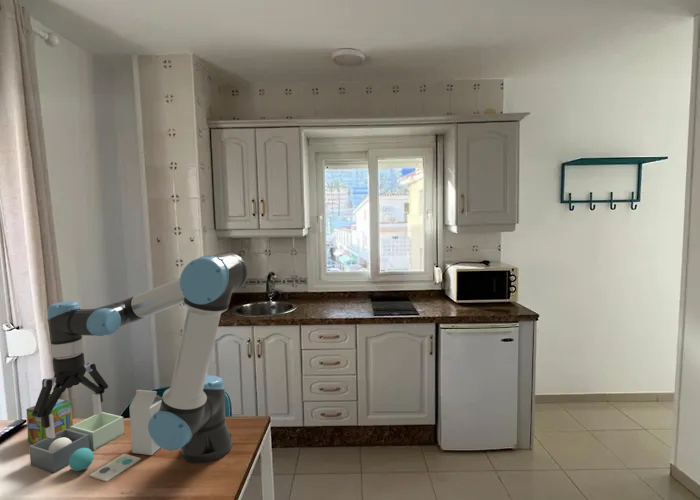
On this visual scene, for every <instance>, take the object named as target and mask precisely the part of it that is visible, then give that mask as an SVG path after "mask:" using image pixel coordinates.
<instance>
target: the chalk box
mask: <svg viewBox="0 0 700 500" xmlns="http://www.w3.org/2000/svg"><path fill="white" fill-rule="evenodd" d="M51 394H52V393H50V395H51ZM50 395H49V397H50ZM72 404H73V403H72V400H68V399H61V398H59V399H58V401H57V403H56V404H55V406H54V408H53V410H52V411H51V413H50V414H52V415H53V419H54V429H55V434H56V433H58V432H60V431H62V430H64V429H70V427H71V426H73V425H74V423H73V422H74V421H73V420H74V419H73V405H72ZM34 408H35V405H33V406H30V407H28V408H27V409H26V420H27V421H26V423H27V424H26V425H27V428H26V429H27V442H28V443H32V444H35V443H37V442H39V441H41V440H43V439H46V438H48V437H46V428H43V427H42V422H41V417H40V418H39V417H34V416H32V413H33V410H34Z"/></svg>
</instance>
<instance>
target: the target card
mask: <svg viewBox="0 0 700 500" xmlns="http://www.w3.org/2000/svg"><path fill="white" fill-rule="evenodd" d="M139 461H141V457H137V456H134V455H130V454H127V453H122V454H121V455H119V456H118V457H116V458H115V459H113V460H112V461H109V462H108V463H106V464H104V465H103V466H102V467H100V468H99V469H96V470H95V471H94V472H92V473H90V474H89V477H91V478H95V479H98V480H100V481H104V482H107V483H108V482H109V481H111V480H112V479H113V478H115V477H117V476H119V475H120V474H121V473H123V471H125V470H127V469H129V468H130V467H131V466H133V465H135V464H136V463H138V462H139Z"/></svg>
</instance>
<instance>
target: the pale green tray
mask: <svg viewBox="0 0 700 500" xmlns="http://www.w3.org/2000/svg"><path fill="white" fill-rule="evenodd" d="M124 423H125V422H124V416H123V415H122V416H121V415H117V414H112V413H108V412H104V411H102V415H95V414H93V415H92V416H90V417H88V418H86V419H84V420H81V421H79V422H77V423H75V424H73V426H71V427H70V430H73V431H77V432H80V433H84V434H88V435H89V446H90V450H91V451H92V452H93V451H96V450H98V449H99V448H101V447H103V446H105V445H107V444H109V443H110V442H112V441H115V439H118V438H119V437H122V436H123V435H125V425H124Z"/></svg>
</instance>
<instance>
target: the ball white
mask: <svg viewBox="0 0 700 500" xmlns="http://www.w3.org/2000/svg"><path fill="white" fill-rule="evenodd" d="M70 443H72V442H71V440H70V439H68V438H65V437H62V438H58V439H56V440H55V441H53V442H52V443H51V445H50V447H49V450H48V451H51V452H54V451H56V450H58V449H60V448H62V447H64V446H66V445H68V444H70Z"/></svg>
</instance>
